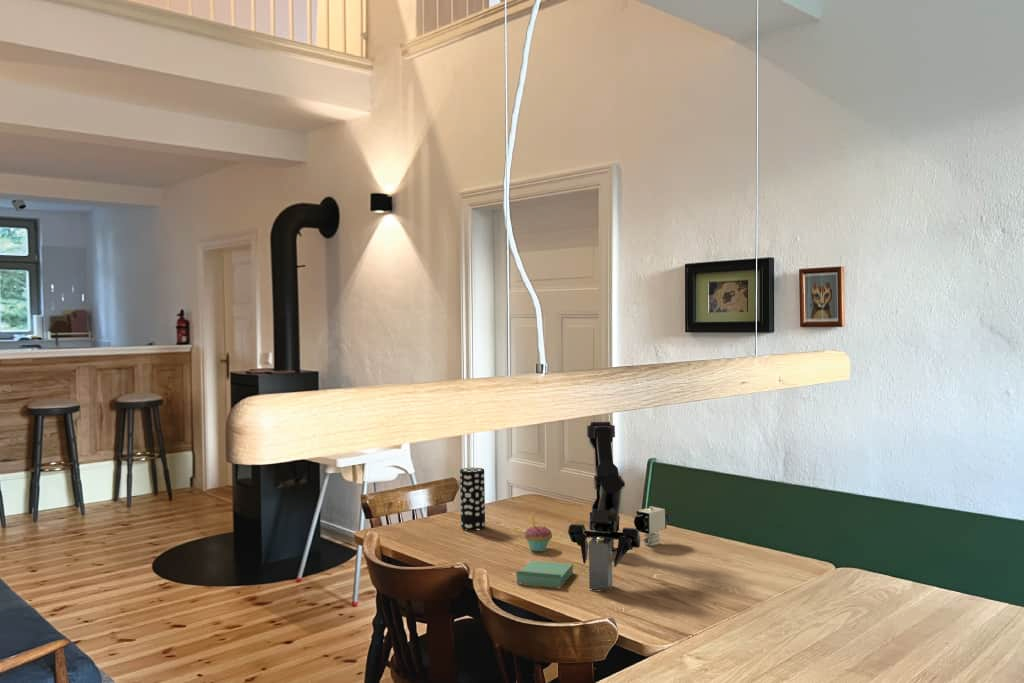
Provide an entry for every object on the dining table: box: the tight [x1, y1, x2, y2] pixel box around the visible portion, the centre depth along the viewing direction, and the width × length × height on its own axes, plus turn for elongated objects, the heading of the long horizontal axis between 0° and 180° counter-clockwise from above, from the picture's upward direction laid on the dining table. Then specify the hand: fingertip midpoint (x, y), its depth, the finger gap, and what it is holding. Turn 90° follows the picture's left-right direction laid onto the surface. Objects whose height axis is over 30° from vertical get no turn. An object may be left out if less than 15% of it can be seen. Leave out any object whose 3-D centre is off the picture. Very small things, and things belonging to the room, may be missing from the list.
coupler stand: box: [516, 560, 574, 589], centre depth 210 cm, size 13×12×4 cm
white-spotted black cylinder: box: [459, 467, 486, 530], centre depth 264 cm, size 8×8×20 cm
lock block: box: [588, 537, 613, 592], centre depth 202 cm, size 5×5×13 cm
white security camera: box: [633, 505, 670, 547], centre depth 241 cm, size 6×12×12 cm, turn 130°
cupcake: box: [523, 511, 553, 552], centre depth 238 cm, size 9×8×12 cm
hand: (599, 564), depth 201 cm, fingers open, 8 cm apart
